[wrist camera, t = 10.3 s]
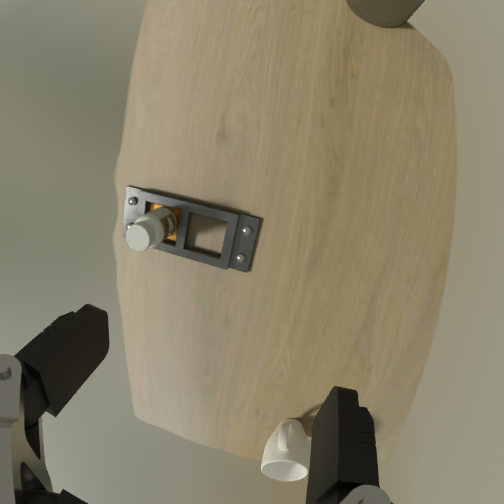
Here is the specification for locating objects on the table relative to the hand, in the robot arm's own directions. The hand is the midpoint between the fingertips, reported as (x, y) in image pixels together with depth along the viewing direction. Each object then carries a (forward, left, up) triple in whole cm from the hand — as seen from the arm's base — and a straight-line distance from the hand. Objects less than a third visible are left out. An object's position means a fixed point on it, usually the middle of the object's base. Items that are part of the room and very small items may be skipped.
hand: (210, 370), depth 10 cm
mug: (+40, +12, -32) cm, 53 cm away
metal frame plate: (+8, -13, -32) cm, 35 cm away
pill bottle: (+8, -16, -32) cm, 37 cm away
